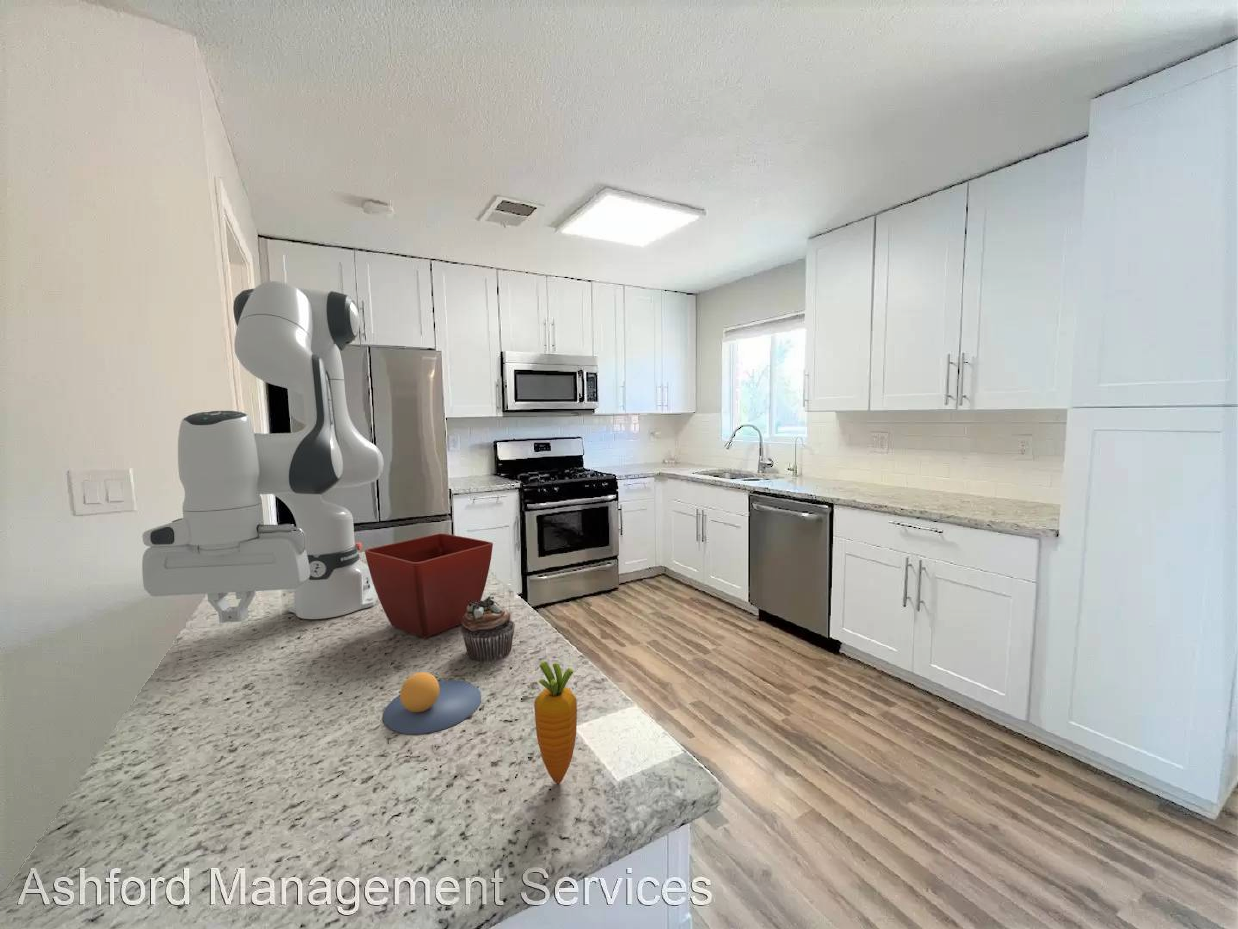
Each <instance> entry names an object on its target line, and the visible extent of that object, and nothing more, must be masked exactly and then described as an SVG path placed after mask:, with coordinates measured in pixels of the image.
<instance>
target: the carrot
mask: <svg viewBox="0 0 1238 929" xmlns="http://www.w3.org/2000/svg"><path fill="white" fill-rule="evenodd" d="M538 666H539V668H540V669H541V672H542V673H543V674H544V676H545V678H546V680H545V679H544V678H541V679H539V680H538V683H540V684H541V685H542V686H543V687H544V689H543V690H542V691H541V692H539V694H538V695H537V696H536V697H535V699H534V705H533V706H534V719H535V720H534V721H535V731H536V739H537V743H538V747H539V752H540V755H541V759H542V762H543V763H544V766H545V769H546V770H547V772H548V775H549V776H550V778H551V779H552V781H553V783H555V784H557V785H559V784H560V783H562V781H563V779H564V777H565V776H566V774H567V771H568V770H569V767H570V765H571V763H572V762H571V761H572V759H573V755H574V750H575V746H576V745H575V744H576V739H577V738H576V737H577V723H578V721H577V720H578V716H577V715H578V714H577V713H578V712H577V711H578V710H577V709H578V706H577V705H578V702H577V698H576V696H575V695H574V692H573V691H572V690H571V689H570V688H569V687H566V685H567V683H568V682H569V679H570V677H571V676H572V675H573V674H574V670H573V669H572V668H569V667H568V668H567V669H566V670H565V672H564V673H562V668H561V664H559V663H557V662H554V663H553V664H552V667H553V671H554V673H553V671H552V669H551V667H550V665H549V664H548V662H547V661H546V660H543V661H541V662H540V664H539V665H538Z"/></svg>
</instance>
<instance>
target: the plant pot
mask: <svg viewBox="0 0 1238 929" xmlns="http://www.w3.org/2000/svg"><path fill="white" fill-rule="evenodd" d="M493 546H494V544H493V542H491V541H487V540H482V539H477V538H476V539H475V538H470V537H465V536H460V535H454V534H449V533H435V534H432V535H427V536H423V537H418V538H413V539H409V540H408V539H407V540H404V541H403V540H402V541H399V542H395V543H389V544H385V545H381V546H376V547H372V548H367V549H365V550H364V554H365V559H366V563H367V564H366V565H367V566H368V567H369V571H370V575H371V578H372V581H373V584H374V587H375V590H376V593H377V595H378V600H379V603H380V605H381V607H382V609H383V611H384V614H385V615H386V618H387V619H388V622H389V624H390V625H391V626H393V627H395V628H397V629H399V630H402V631H405V632H407V633H409V634H412V635H415V636H417V637H420V638H422V639H425V638H427V639H428V638H431V637H433V636H435V635H438V634H441V633H443V632H446V631H448V630H450V629H452V628H455V627H457V626H460V625H462V623H461V619H462V617H463V616H464V615H465V613H466V612H468V611H467V606H468V605H469V602H470V601H474V602H479V601H482V598H483V596H484V591H485V589H486V588H485V587H486V583H487V581H488V575H489V571H490V568H491V567H490V566H491V561H492V555H493V554H492V553H493V548H494V547H493Z"/></svg>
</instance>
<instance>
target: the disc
mask: <svg viewBox="0 0 1238 929" xmlns="http://www.w3.org/2000/svg"><path fill="white" fill-rule="evenodd" d="M437 681H438V684H439V696H438V698H437V700H436V702H435V703H434V704H433V706H431V707H430V708H429V709H427V710H425V711H423V712H417V713H416V712H411V711H409V710H407V709H406V708H405V707H404V706H403V705H402V703H401V699H400V694H399V695H397V696H396V697H394V698H393V699H392V700H391V701H389V703H388V704H387V706H386V707H385V708H384V711H383V715H382V716H383V717H382V719H383V722H384V725H385V726H387V728H388V729H389V730H391V731H394V732H396V733H400V734H406V735H422V734H431V733H436V732H439V731H443V730H446V729H449V728H452V727H453V726H455V725H457V724H459V723H461V722H463V721H465V720H466V719H468V718H469V717H471V715H473V714H474V713H475V712H476V711H477V710H478V708H479V707H480V705H481V701H482V693H481V691H480V689H479V688H478V687H477V686H475V684H472V683H470V682H468V681H467V682H466V681H462V680H456V679H453V680H452V679H446V680H437Z"/></svg>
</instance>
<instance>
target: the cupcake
mask: <svg viewBox="0 0 1238 929" xmlns="http://www.w3.org/2000/svg"><path fill="white" fill-rule="evenodd" d="M494 598H495V597H494V596H490V595H488V597H486V598H485V599H484V600H481V601H479V602H474V601H470V602H469V605H468V606H467V611H468V612H466V613H465V615H464V616H463V617H462V619H461V623H462V624H461V625H462V626H461V627H460V628H461V629H460V633H461V635H462V638H463V641H464V646H465V649H466V654H467V657H468V658H470V660H472V661H474V660H475V661H474V662H480V663H481V662H482V663H483V662H485V663H486V662H487V661H488V662H492V660H495V661H497V659H498V660H500V659H499V658H501V659H503V658H505V657H507V656H508V655H509V654H510V653H511V652H512V651H511V650H512V646H513V639H514V633H515V627H516V624H515V622H514V620H512V619H511V614H510V612H509V611H508V609H507V608H506V607H505V608H504V607H502V606H500V604H498V603H497V602H496V599H494ZM510 651H511V652H510ZM509 652H510V653H509ZM506 655H507V656H506ZM504 656H505V657H504ZM502 657H503V658H502Z"/></svg>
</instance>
